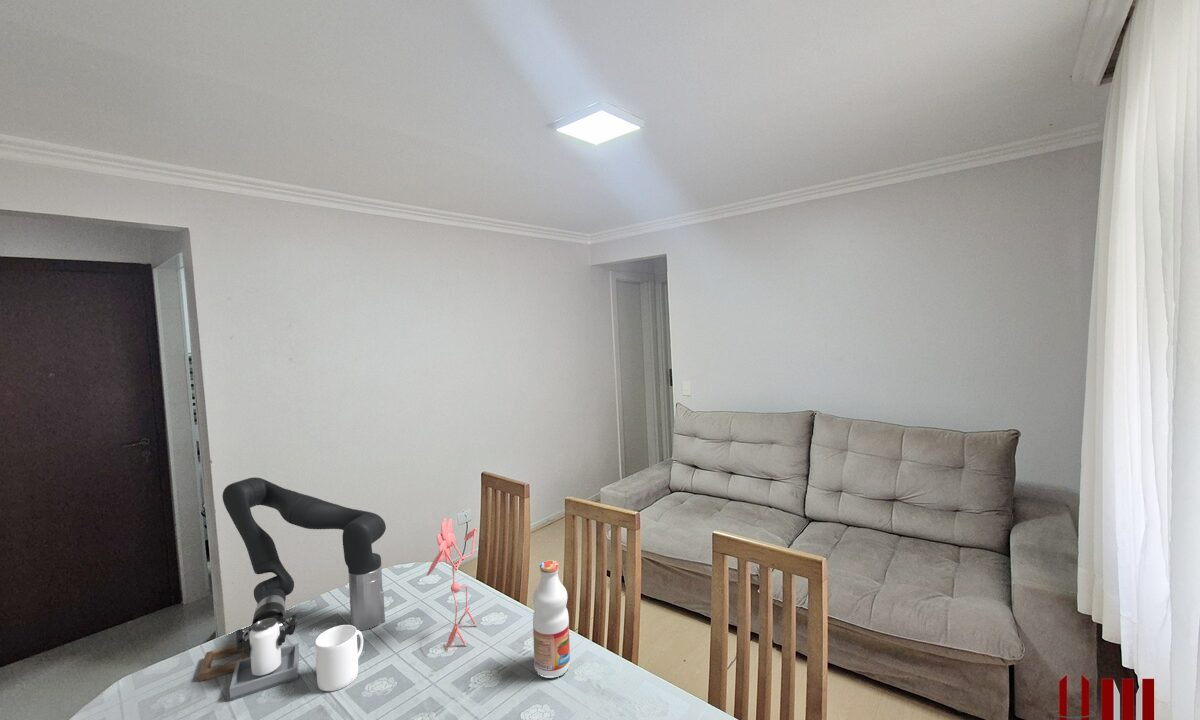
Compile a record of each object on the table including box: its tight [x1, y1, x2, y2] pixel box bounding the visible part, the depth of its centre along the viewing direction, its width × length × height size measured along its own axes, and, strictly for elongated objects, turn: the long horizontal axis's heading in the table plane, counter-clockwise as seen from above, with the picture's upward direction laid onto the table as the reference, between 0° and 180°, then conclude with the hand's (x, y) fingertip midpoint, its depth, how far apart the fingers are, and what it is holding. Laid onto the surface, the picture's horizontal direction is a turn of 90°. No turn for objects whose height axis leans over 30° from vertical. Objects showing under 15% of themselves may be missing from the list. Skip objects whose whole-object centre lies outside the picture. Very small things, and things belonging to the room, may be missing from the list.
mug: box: [314, 624, 364, 692], centre depth 125 cm, size 10×12×12 cm
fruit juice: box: [532, 559, 571, 676], centre depth 126 cm, size 9×9×28 cm
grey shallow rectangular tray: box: [229, 642, 300, 702], centre depth 126 cm, size 14×12×3 cm
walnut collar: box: [198, 643, 251, 683], centre depth 131 cm, size 10×10×2 cm
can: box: [248, 618, 282, 676], centre depth 126 cm, size 6×6×12 cm
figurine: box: [426, 517, 478, 649], centre depth 140 cm, size 15×26×35 cm, turn 176°
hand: (264, 646), depth 123 cm, fingers closed on can, 6 cm apart
